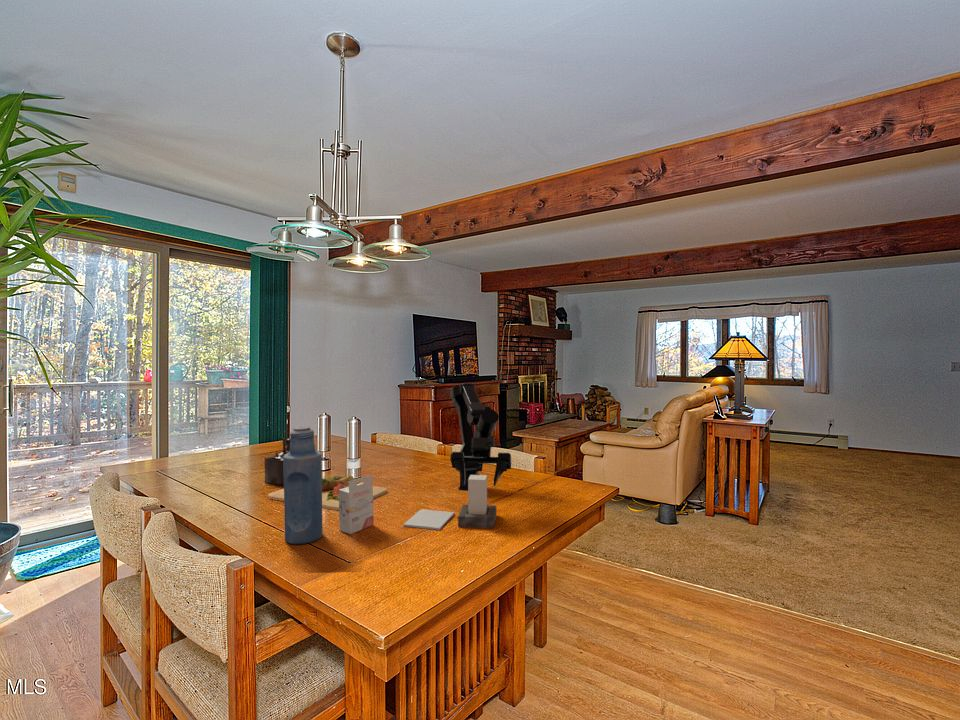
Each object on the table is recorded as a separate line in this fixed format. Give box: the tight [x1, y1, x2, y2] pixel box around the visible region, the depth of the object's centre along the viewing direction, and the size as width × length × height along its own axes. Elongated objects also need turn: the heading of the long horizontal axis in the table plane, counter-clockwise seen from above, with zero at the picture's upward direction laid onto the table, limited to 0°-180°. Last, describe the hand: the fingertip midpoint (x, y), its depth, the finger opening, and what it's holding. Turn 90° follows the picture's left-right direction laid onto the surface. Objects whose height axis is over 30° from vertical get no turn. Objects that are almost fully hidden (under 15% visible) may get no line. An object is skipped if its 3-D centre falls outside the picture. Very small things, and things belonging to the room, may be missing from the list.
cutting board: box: [267, 474, 388, 512], centre depth 163 cm, size 35×23×8 cm
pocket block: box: [457, 504, 497, 529], centre depth 137 cm, size 10×10×3 cm
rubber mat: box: [403, 508, 455, 531], centre depth 138 cm, size 11×13×1 cm
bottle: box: [283, 426, 324, 546], centre depth 125 cm, size 10×10×30 cm
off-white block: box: [467, 474, 488, 515], centre depth 137 cm, size 5×5×13 cm
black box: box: [264, 437, 291, 486], centre depth 179 cm, size 16×11×18 cm
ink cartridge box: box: [338, 474, 374, 535], centre depth 132 cm, size 9×5×15 cm, turn 143°
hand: (479, 484), depth 140 cm, fingers open, 9 cm apart
